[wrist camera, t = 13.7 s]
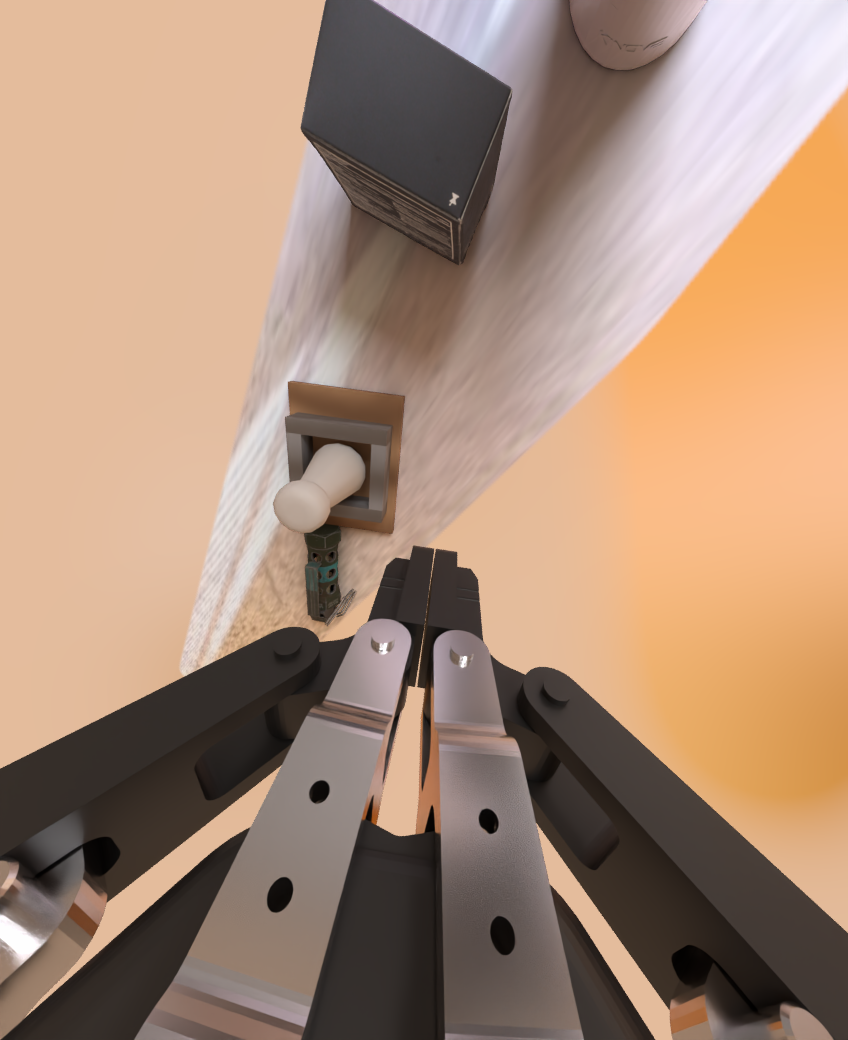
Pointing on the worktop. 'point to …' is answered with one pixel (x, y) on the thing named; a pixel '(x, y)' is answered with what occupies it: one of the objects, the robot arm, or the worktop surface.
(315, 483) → the salt shaker
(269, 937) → the robot arm
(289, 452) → the socket board
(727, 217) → the worktop surface
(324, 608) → the stun grenade
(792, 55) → the worktop surface
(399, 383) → the worktop surface
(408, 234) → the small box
